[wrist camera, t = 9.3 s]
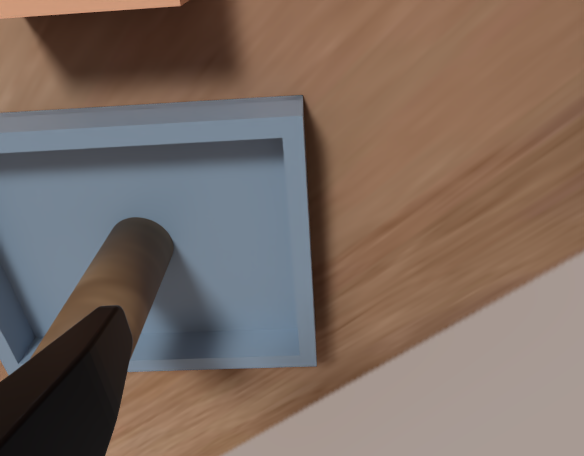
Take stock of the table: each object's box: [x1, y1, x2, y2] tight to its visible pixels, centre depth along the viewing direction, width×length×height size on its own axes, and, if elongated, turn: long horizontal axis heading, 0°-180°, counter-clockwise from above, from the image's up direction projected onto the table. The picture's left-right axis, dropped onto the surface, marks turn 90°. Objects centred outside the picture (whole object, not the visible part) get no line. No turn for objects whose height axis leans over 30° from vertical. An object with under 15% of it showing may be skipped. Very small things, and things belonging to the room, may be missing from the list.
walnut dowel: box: [30, 217, 174, 359], centre depth 19 cm, size 3×3×9 cm
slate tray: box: [0, 95, 317, 375], centre depth 22 cm, size 16×13×2 cm
